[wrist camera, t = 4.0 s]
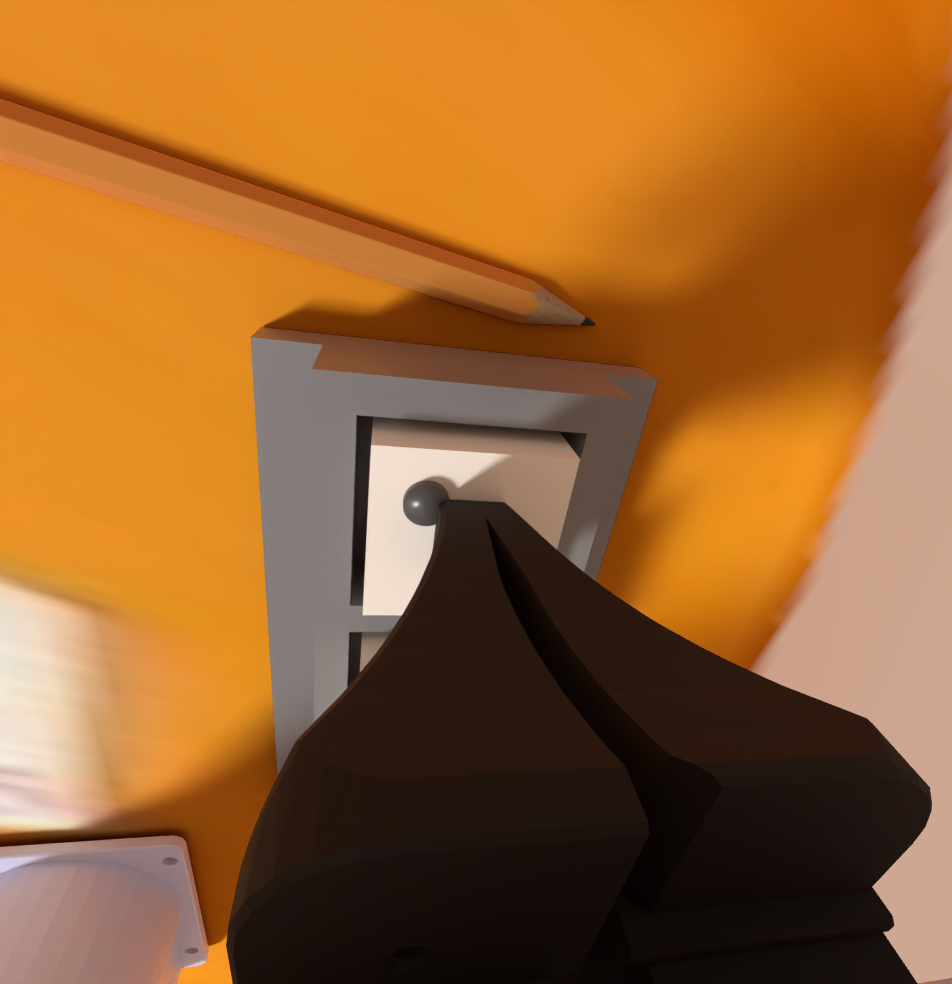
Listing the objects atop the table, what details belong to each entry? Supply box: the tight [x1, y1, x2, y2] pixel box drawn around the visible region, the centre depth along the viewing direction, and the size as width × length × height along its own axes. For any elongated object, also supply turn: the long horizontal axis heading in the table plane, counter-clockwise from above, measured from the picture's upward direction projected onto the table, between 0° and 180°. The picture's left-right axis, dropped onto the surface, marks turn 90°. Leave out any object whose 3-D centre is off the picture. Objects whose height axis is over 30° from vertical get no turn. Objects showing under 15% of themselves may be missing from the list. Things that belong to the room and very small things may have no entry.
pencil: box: [0, 98, 595, 326], centre depth 10 cm, size 1×1×19 cm
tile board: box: [251, 327, 658, 777], centre depth 15 cm, size 17×9×3 cm, turn 172°
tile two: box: [363, 417, 580, 615], centre depth 12 cm, size 4×4×3 cm
